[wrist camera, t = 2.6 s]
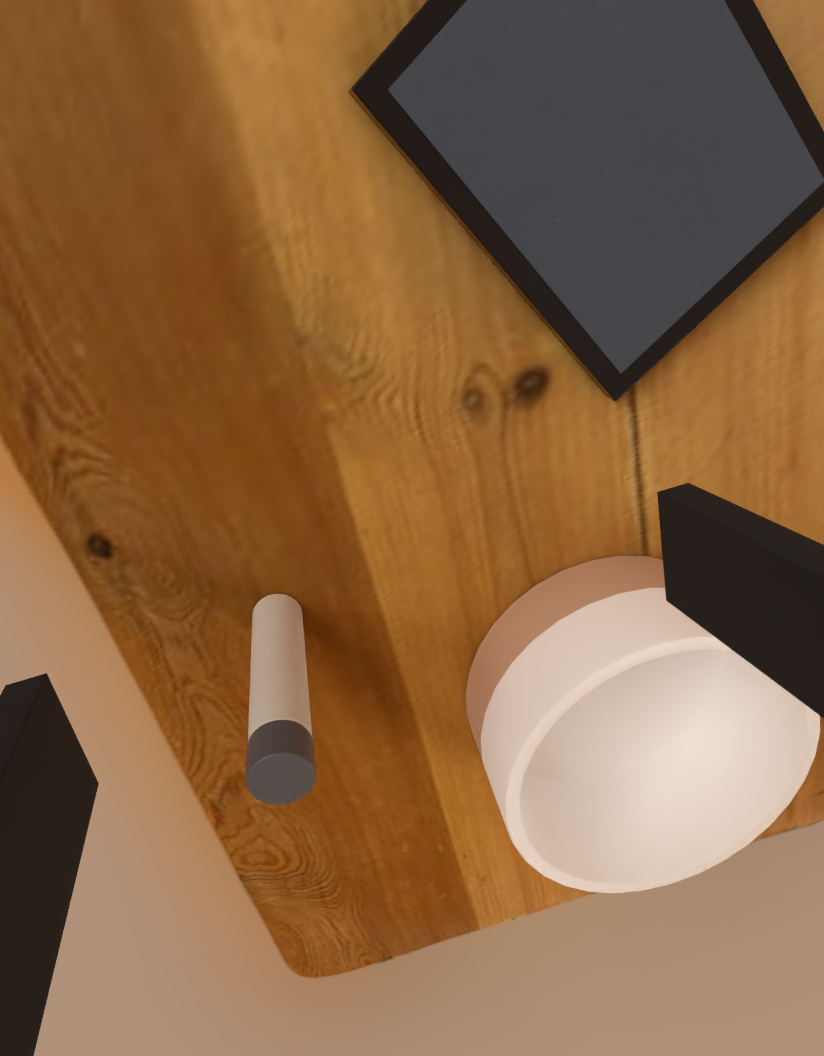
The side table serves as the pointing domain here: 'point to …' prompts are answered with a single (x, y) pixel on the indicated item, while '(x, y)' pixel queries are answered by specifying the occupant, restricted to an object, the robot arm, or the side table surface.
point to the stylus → (279, 705)
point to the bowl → (628, 732)
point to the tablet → (606, 156)
